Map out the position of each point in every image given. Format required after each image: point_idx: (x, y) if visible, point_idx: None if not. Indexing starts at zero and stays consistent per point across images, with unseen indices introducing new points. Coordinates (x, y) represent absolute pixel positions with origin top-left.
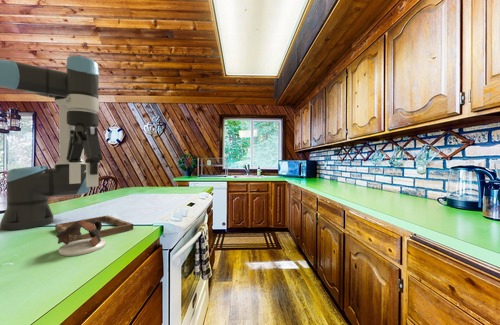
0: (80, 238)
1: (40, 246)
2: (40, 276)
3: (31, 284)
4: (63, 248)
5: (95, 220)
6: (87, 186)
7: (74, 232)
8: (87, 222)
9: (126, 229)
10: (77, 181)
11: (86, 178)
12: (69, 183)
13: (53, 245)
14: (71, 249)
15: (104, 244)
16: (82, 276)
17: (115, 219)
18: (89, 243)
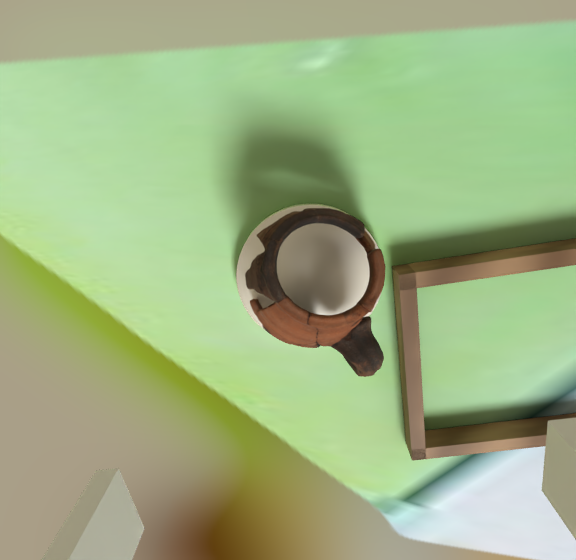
0: (396, 283)
1: (464, 152)
2: (119, 144)
3: (70, 122)
4: None
5: (356, 364)
6: (94, 477)
7: (255, 270)
8: (311, 332)
9: (406, 426)
10: (555, 486)
11: (67, 544)
12: (572, 420)
13: (435, 194)
14: None
15: None
16: (49, 238)
17: None
18: (307, 297)
